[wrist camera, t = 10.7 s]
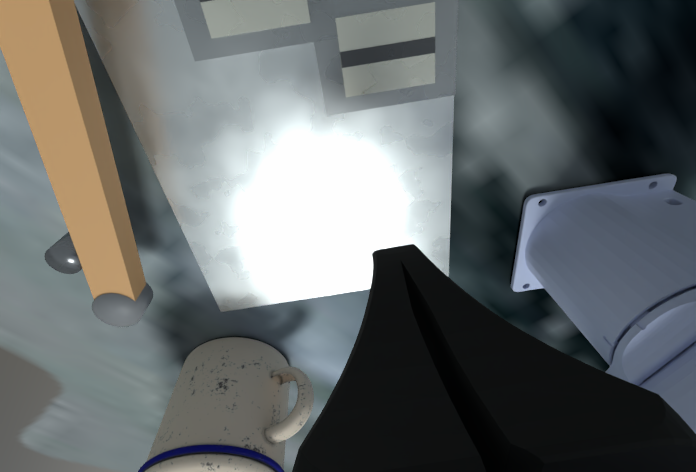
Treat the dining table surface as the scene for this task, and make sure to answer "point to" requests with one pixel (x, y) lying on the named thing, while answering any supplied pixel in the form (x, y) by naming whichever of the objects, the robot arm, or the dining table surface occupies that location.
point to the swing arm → (75, 149)
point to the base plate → (288, 133)
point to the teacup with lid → (230, 410)
